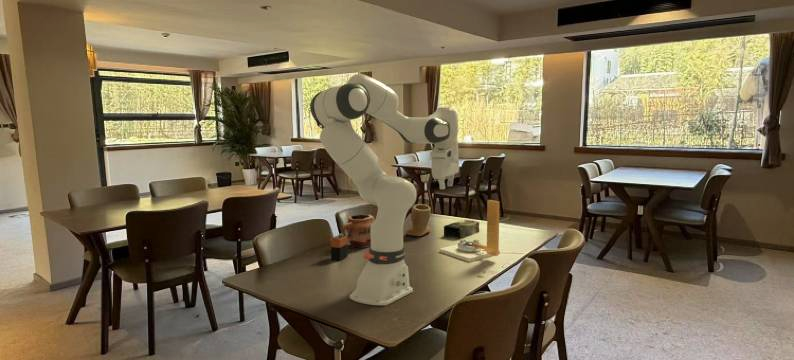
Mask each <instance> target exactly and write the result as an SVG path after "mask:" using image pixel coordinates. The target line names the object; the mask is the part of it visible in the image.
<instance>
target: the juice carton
mask: <svg viewBox="0 0 794 360" xmlns="http://www.w3.org/2000/svg"><path fill="white" fill-rule="evenodd" d="M457 231H458V232H457ZM454 232H455V233H457V234H456V235H455V238H457V239H459V240H461V239H463V238H466V237H470V236H472V235H474V234H478V233H479V232H480V221H477V220H476V221H475V220H471V219H470V220H469V219H462V220H459V221H455V222H452V223H449V224H445V225H443V237H444V238H445V237H446V235H447V236H448V235H452V234H454ZM451 233H452V234H451Z"/></svg>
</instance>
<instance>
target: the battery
mask: <svg viewBox="0 0 794 360" xmlns="http://www.w3.org/2000/svg"><path fill="white" fill-rule="evenodd" d="M347 236H348V235H346V236H344V235H343V234H342V233H338V235H334V237H331V238H330V258H331V261H337V262H340V261H342V260H344V259H346V258H348V256H349V255H348V254H349V253H348V250H349V249H348V239H347Z"/></svg>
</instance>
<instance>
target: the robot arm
mask: <svg viewBox="0 0 794 360" xmlns="http://www.w3.org/2000/svg"><path fill="white" fill-rule="evenodd" d="M399 102H400V100H399V96H398V94H397V93H396V91H394V90H393V89H392V88H391V87H389V86H388V85H386V84H385V83H383V82H381V81H379V80H378V79H376V78H373V77H371V76H369V75H366V74H363V73H356V74H354V75H352V76H351V77H350V78H349V79H348V80H347V82H346V83H345V84H342V85H337V86H332V87H329V88H327V89H324V90H322V91H319V92H317V94H315V95H314V96H313V97H312V99H311V101H310V104H309V110H310V113H311V116H312V118H313V120H315V123H316V125H317V127H318V128H320V129H322V130H321V131H320V135H319V141H320V143H321V145H322V146H323V148H324V149H325V151H326V152H327V154H328V155H329V156H330V157H331V159H332V160H333V161H334V163H336V164H337V165H338V167H339V168H341V170H342V171H344V173H345V174H346V175H347V176H348V177H349V178H350V179H351V180H352V182H353V184H354V186H356V188H357V191H358V195H360V197H361V198H362V199H363V200H364V201H365V202H367V204H370V205H373V206H376V207H377V212H376V213H377V214H376V216H375V218H374V219H375V221H374V222H373V223H372V224H371V227H370V232H371V246H369V250H368V252H365V253H364V255H363V259H365V260H367V263H366V264H365V266H364V267H363V268H362V271H361V272H360V274H359V276H358V278H357V281H356V282H357V283H356V288H355V289H354V290H353V291H352V292H351V293H350V294H349V299H350V300H352V301H354V302H357V303H360V304H365V305H371V306H389V305H390V304H392V303H394V302H396V301H398V300H399V299H402V298H403V297H405V296H408V295H409V294H412V293H414V290H413V287H412V286H410V276H409V266H408V265H407V264H406V261H405V256H406V251H405V247H404V225H405V220H406V217H407V214H408V212H409V211H410V209H412V207H413V206H414V205H415V203H416V200H417V196H418V195H417V194H418V193H417V189H416V187H415V185H414V184H413V183H412V182H411V181H409V180H407V179H406V178H403V177H402V176H395V175H391V174H388V173H386V172H385V171H384V170H383V169H382V168H381V165H380V164H379V157H378V156H377V154H376V153H375V152H374V151H373V150H372V148H370V146H369V145H368V144H367V143H366V142H365V140H363V138H362V137H361V136H360V135H359V134H358V133H357V132H356V131H355V129H354V127H353V125H352V121H351V120H357V119H359V118H361V117H362V116H364V115H365V113H366V114H367V115H369V116H371V117H374V118H375V119H378V120H380V121H381V122H382V123H384V124H385V125H387V126H388V127H390V128H391V129H393V130H394V131H395V132H396V133H398V135H399V136H400V137H401V138H402V140H403V141H404V142H406V143H407V144H411V145H412V144H429V145H432V144H433V145H434V147H433V148H432V150H431V151H430V155H429V157H430V158H431V164H430V165H431V175H432V178H433V179H437V182H438V184H439V190H445V189H446V185H447V187H452V186H453V184H454V179H455V174H458V173H459V172H460V158H459V140H458V134H459V119H458V113H457V111H456V110H455V109H453V108H449V107H438V108H436V110H435V111H434V112H433V113H432V114H430V115H428V116H426V117H425V116H424V117H423V116H422V117H421V116H419V117H418V116H417V117H415V116H406V115H405V114H403V113H401V112H400V111H398V109H399V106H400V103H399ZM446 178H447V181H446V180H445V179H446ZM445 181H446V183H445Z"/></svg>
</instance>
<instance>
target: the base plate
mask: <svg viewBox="0 0 794 360" xmlns="http://www.w3.org/2000/svg"><path fill="white" fill-rule="evenodd" d="M439 253H442V254H445V255H447V256H451V257H454V258H455V259H456V258H457V259H459V260H462V261H464V262H468V263H472V262H475V261H479V260H482V259H487V258H491V257H493V256H494V255H491V254H487V250H484V249H481V251H479V252H462V251H459V250H458V243H457V244H453V245H449V246H444V247H441V248H439ZM500 254H501V253H500V250H499V251H498V255H500Z"/></svg>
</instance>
